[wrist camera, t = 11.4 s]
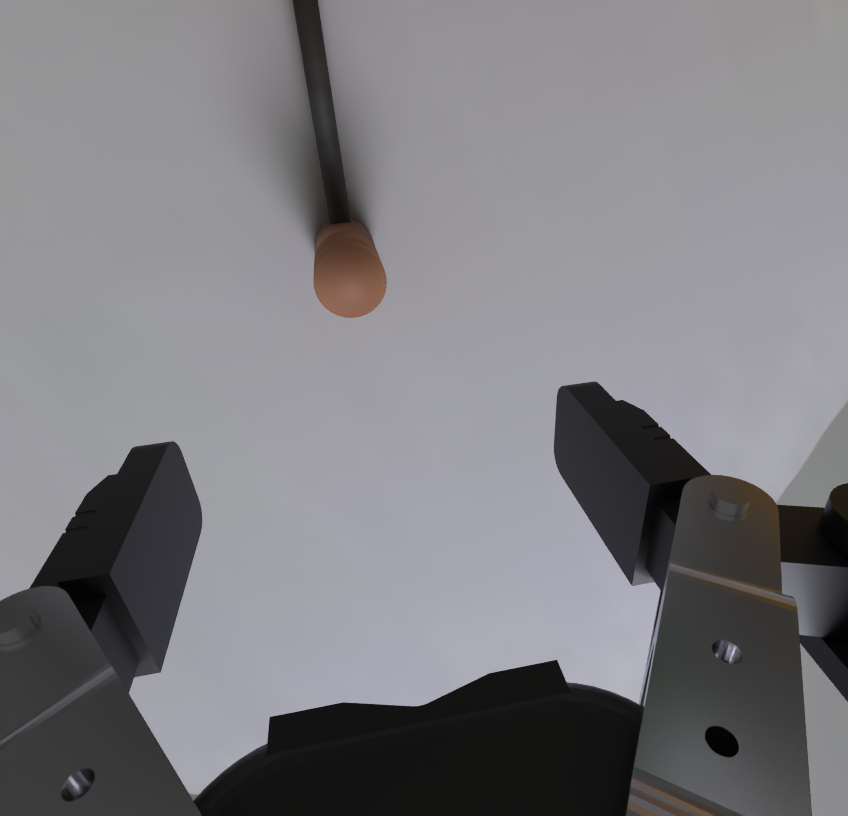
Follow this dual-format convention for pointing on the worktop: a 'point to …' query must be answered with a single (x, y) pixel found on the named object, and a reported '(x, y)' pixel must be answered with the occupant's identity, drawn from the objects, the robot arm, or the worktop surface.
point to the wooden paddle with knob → (335, 193)
